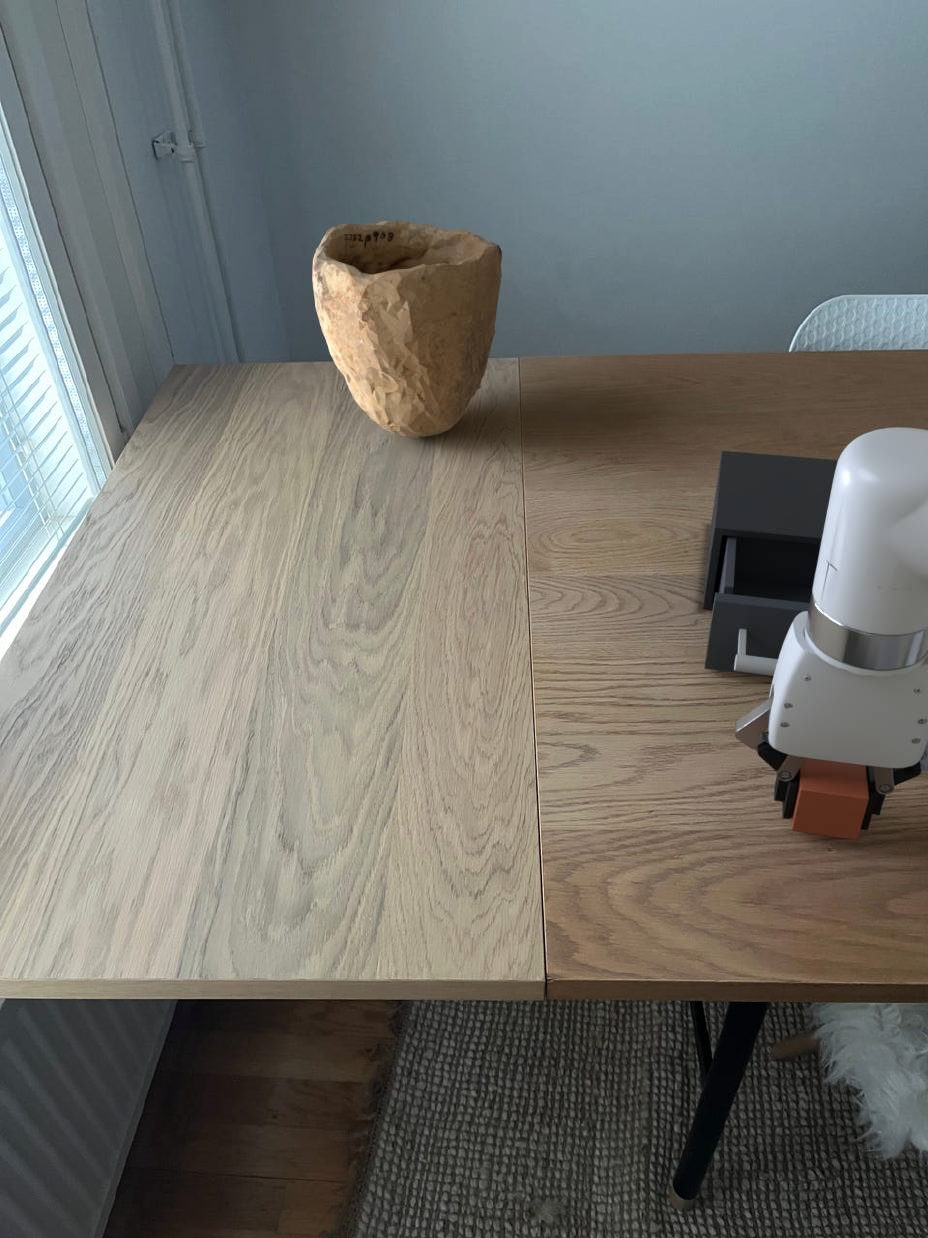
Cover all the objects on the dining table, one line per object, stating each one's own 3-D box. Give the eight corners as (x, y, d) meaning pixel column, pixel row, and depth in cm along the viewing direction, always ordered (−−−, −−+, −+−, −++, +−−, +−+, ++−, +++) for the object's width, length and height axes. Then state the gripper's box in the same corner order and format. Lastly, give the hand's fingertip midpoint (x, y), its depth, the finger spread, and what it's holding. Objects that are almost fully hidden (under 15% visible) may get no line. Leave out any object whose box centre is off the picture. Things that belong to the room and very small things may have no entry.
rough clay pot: (542, 425, 124) (544, 227, 108) (424, 496, 112) (406, 285, 96) (420, 380, 136) (405, 196, 121) (300, 440, 124) (267, 244, 108)
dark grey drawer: (840, 726, 79) (861, 655, 74) (700, 706, 82) (711, 637, 77) (831, 593, 93) (848, 527, 88) (712, 580, 95) (721, 515, 90)
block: (853, 793, 73) (864, 751, 70) (857, 840, 69) (869, 798, 66) (790, 785, 74) (799, 743, 71) (791, 831, 70) (800, 789, 68)
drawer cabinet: (837, 624, 90) (859, 541, 84) (702, 609, 93) (714, 527, 87) (831, 539, 101) (850, 460, 95) (710, 527, 104) (721, 450, 98)
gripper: (1006, 598, 61) (938, 788, 72) (734, 575, 65) (710, 759, 76) (1029, 675, 55) (952, 868, 67) (729, 644, 59) (705, 832, 71)
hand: (823, 808), depth 71 cm, fingers closed on block, 4 cm apart
